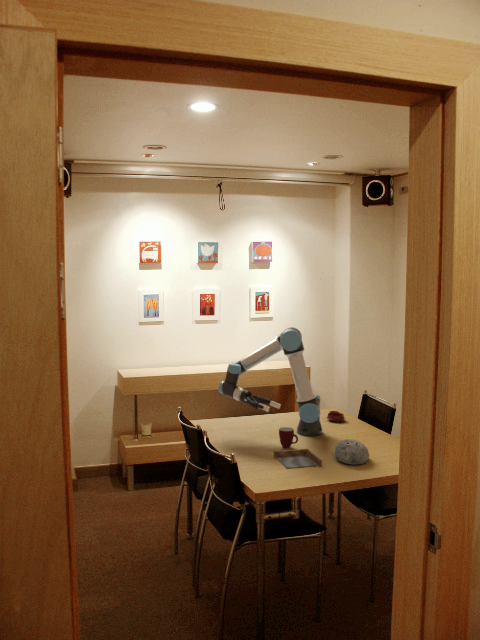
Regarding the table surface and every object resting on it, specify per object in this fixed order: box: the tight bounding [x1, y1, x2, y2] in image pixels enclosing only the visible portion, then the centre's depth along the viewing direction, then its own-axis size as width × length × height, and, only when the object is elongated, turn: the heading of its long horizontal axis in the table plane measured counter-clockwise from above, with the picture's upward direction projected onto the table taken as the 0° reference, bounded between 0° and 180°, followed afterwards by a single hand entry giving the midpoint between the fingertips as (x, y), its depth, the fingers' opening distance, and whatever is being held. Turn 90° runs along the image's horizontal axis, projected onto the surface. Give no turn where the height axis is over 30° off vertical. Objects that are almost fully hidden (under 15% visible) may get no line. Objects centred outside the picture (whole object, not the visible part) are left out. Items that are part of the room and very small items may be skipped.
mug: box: [278, 426, 299, 449], centre depth 300 cm, size 10×8×10 cm
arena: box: [272, 448, 323, 470], centre depth 278 cm, size 19×19×3 cm
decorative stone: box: [334, 438, 370, 465], centre depth 281 cm, size 18×21×10 cm
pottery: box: [326, 410, 346, 423], centre depth 360 cm, size 12×20×4 cm, turn 175°
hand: (274, 408), depth 305 cm, fingers open, 13 cm apart
